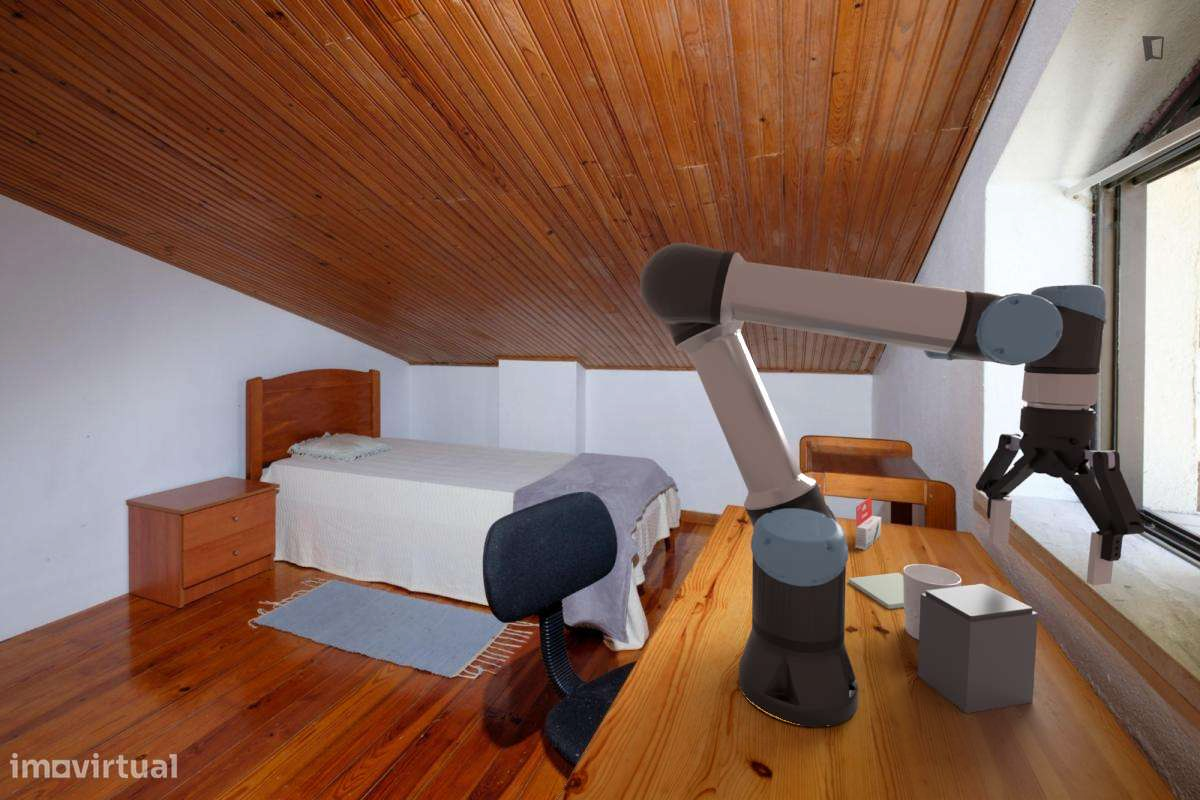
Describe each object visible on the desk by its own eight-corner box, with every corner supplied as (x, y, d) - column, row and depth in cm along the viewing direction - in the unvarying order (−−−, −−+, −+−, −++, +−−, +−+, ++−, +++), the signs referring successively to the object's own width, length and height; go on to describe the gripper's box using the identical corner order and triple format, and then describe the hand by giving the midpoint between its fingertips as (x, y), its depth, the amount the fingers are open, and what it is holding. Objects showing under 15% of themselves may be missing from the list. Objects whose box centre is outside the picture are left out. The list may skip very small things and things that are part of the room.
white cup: (909, 616, 92) (911, 559, 91) (964, 633, 86) (967, 573, 85) (894, 634, 86) (896, 574, 85) (951, 654, 81) (954, 589, 80)
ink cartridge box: (881, 537, 129) (882, 497, 128) (866, 551, 121) (867, 508, 120) (869, 535, 130) (870, 495, 129) (854, 548, 122) (855, 506, 121)
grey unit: (966, 713, 68) (970, 618, 66) (917, 675, 76) (920, 589, 74) (1036, 701, 70) (1042, 608, 68) (981, 665, 78) (986, 581, 76)
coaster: (888, 609, 94) (888, 604, 94) (848, 582, 105) (848, 578, 105) (943, 602, 96) (943, 597, 96) (898, 576, 107) (898, 572, 107)
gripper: (1201, 417, 59) (1179, 601, 62) (995, 395, 84) (985, 528, 86) (1147, 419, 58) (1126, 608, 60) (954, 396, 82) (945, 531, 85)
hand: (1043, 561), depth 73 cm, fingers open, 13 cm apart
